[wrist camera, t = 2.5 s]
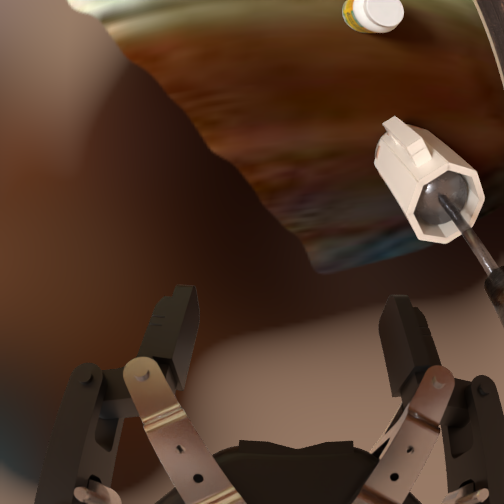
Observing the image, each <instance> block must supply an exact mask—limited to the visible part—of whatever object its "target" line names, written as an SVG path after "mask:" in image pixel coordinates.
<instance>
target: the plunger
mask: <svg viewBox="0 0 504 504" xmlns="http://www.w3.org/2000/svg"><path fill="white" fill-rule="evenodd" d="M466 199H467V187H466V184H465V182H464V180H463V179H462V178H461V177H460V176H459V175H458V174H457V173H456V172H454V171H450V170H448V171H446V172H445V173H443V174H441V175H440V176H438V177H437V178H435V179H433V180H432V181H430V182H429V183H427V184H425V185H424V186H423V188H422V191H421V194H420V196H419V199H418V202H417V205H416V207H415V209H416V211H417V213H418V214H419V216H420V217H421V218H422V219H423V220H424V221H425V222H427V223H429V224H434V225H439V224H444V223H447V222H449V221H451V220H452V221H453V222H454V224H455V225H456V227H457V228H458V229H459V231H460V232H461V234H462V235H463V237H464V238H465V240H466V241H467V243H468V244H469V246H470V247H471V249H472V250H473V252H474V253H475V255H476V257H477V258H478V260H479V261H480V263H481V265H482V266H483V268H484V270H485V271H486V273H487V275H488V277H487V279H486V281H485V284H484V289H485V291H486V293H487V295H488V297H489V299H490V301H491V303H492V305H493V306H494V308H495V311H496V313H497V314H498V317H499V319H500V321H501V323H502V325H503V327H504V266H501V267H499V268H498V266H497V264H496V263H495V261H494V260H493V258H492V257H491V255H490V254H489V252H488V251H487V249H486V248H485V246H484V245H483V244H482V242H481V241H480V239H479V238H478V236H477V235H476V234H475V232H474V231H473V230H472V228H471V227H470V225H469V224H468V223H467V221H466V220H465V219H464V217H463V216H462V215H461V214H460V212H461V210H462V209H463V207H464V205H465V202H466Z"/></svg>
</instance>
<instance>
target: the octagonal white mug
mask: <svg viewBox="0 0 504 504" xmlns="http://www.w3.org/2000/svg"><path fill="white" fill-rule="evenodd" d="M383 126H384V127H385V129H386V130H387V131H386V132H385V133H384V134H383V136H382V137H381V138H380V140H379V142H378V144H377V147H376V151H375V162H374V165H375V166H376V168H377V170H378V172H379V174H380V176H381V177H382V179H383V180H384V181H385V183H386V184H387V186H388V187H389V189H390V191H391V192H392V194H393V196H394V197H395V199H396V201H397V202H398V204H399V206H400V207H401V209H402V211H403V212H404V214H405V216H406V218H407V219H408V221H409V223H410V225H411V226H412V228H413V230H414V232H415V234H416V235H417V237H418V239H419V240H424V241H431V242H437V243H444V244H445V243H448V242H450V241H451V240H453V239H455V238H456V237H458V236H460V235H461V232H460V231H459V229H458V228H457V227H456V225H455V224H454V222H453V221H452V220H451V221H449V222H447V223H444V224H439V225H434V224H429V223H427V222H425V221H424V220H423V219H422V218H421V217H420V216H419V214H418V213H417V211H416V209H415V207H416V205H417V202H418V199H419V196H420V194H421V191H422V188H423V186H424V185H425V184H427V183H429V182H430V181H432V180H433V179H435V178H437V177H438V176H440V175H441V174H443V173H445V172H446V171H448V170H450V171H454V172H456V173H457V174H458V175H459V176H460V177H461V178H462V179H463V180H464V182H465V184H466V187H467V199H466V202H465V205H464V207H463V209H462V210H461V212H460V214H461V215H462V216H463V217H464V219H465V220H466V221H467V223H468V224H469V225H470V227H471V228H472V227H473V225H474V223H475V221H476V219H477V216H478V214H479V212H480V210H481V207H482V205H483V203H484V200H485V199H484V198H485V196H484V193H483V190H482V186H481V183H480V180H479V177H478V174H477V171H476V170H475V169H473V168H472V167H471V166H470V165H469V164H468V163H467V162H466V161H464V160H463V159H462V158H461V157H460V156H459V155H458V154H456V153H455V152H454V151H453V150H452V149H450V148H449V147H448V146H447V145H446V144H444V143H443V142H442V141H441V140H439V139H438V138H437V137H436V136H434V135H433V134H432V133H431V132H429V131H428V130H426V129H422V128H420V127H417V126H414V125H409V124H405V123H403V122H402V121H401V120H400V119H398V118H397V117H396V116H394V117H392V118H390V119H389V120H387V121H386V122H384V123H383Z"/></svg>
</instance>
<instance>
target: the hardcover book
mask: <svg viewBox="0 0 504 504" xmlns="http://www.w3.org/2000/svg"><path fill="white" fill-rule="evenodd" d="M473 1H474V4H475V6H476V8H477V10H478V13H479V15H480V18H481V20H482V22H483V25H484V28H485V30H486V33H487V36H488V38H489V41H490V44H491V47H492V50H493V53H494V56H495V59H496V62H497V66H498V69H499V72H500V76H501V80H502V83H503V87H504V0H473Z"/></svg>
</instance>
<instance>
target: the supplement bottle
mask: <svg viewBox="0 0 504 504" xmlns="http://www.w3.org/2000/svg"><path fill="white" fill-rule="evenodd" d="M342 13H343V18H344V20H345V22H346V23H347V24H348V25H349V26H350V27H351V28H352V29H354V30H355V31H358V32H362V33H385V32H389V31H391V30H393V29H395V28H396V27H397V25H398V24H399V23H400V22H401V21H402V19H403V16H404V9H403V6H402V4H401V2H400V1H399V0H347V1H346V2H345V3H344V5H343V9H342Z"/></svg>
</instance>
